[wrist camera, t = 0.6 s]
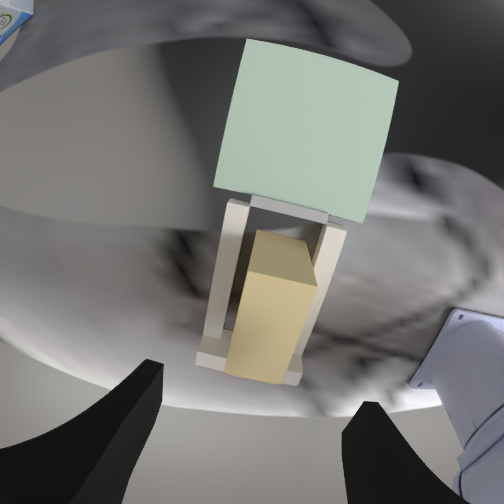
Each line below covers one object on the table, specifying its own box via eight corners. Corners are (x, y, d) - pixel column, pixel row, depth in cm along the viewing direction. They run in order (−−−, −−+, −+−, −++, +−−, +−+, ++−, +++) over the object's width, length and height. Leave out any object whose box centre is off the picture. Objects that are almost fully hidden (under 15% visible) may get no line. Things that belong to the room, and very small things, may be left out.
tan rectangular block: (305, 240, 18) (317, 286, 13) (280, 322, 20) (280, 385, 15) (257, 229, 18) (247, 270, 13) (237, 313, 20) (223, 373, 15)
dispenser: (345, 216, 17) (358, 230, 15) (295, 357, 21) (297, 386, 18) (232, 188, 17) (224, 197, 14) (204, 337, 21) (194, 364, 18)
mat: (397, 81, 14) (398, 81, 14) (361, 222, 17) (362, 223, 17) (247, 40, 14) (246, 38, 14) (213, 185, 17) (213, 186, 17)
